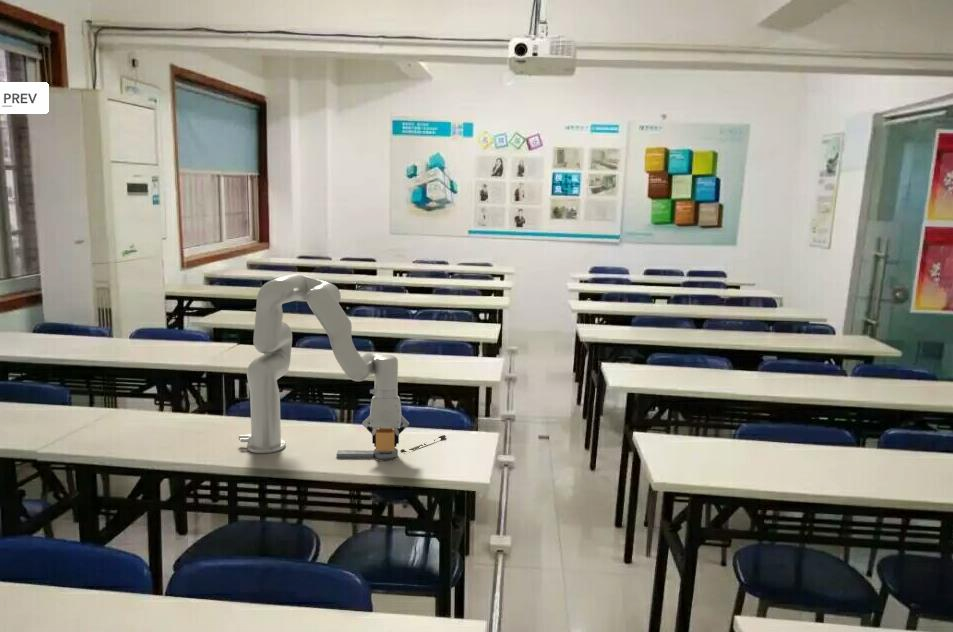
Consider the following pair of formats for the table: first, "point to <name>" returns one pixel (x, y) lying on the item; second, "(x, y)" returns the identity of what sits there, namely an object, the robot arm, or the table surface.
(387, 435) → the socket
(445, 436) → the tomahawk
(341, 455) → the ratchet
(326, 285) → the robot arm
